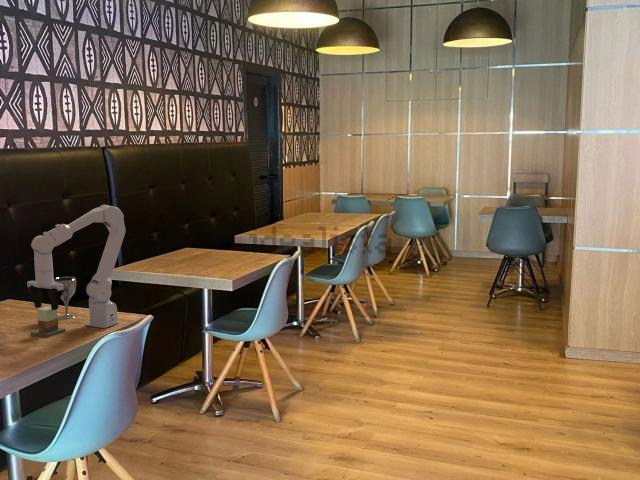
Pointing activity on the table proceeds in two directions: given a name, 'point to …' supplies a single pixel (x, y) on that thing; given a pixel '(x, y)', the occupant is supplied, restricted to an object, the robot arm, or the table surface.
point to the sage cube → (46, 314)
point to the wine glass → (67, 293)
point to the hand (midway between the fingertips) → (46, 308)
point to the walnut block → (48, 325)
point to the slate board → (45, 334)
